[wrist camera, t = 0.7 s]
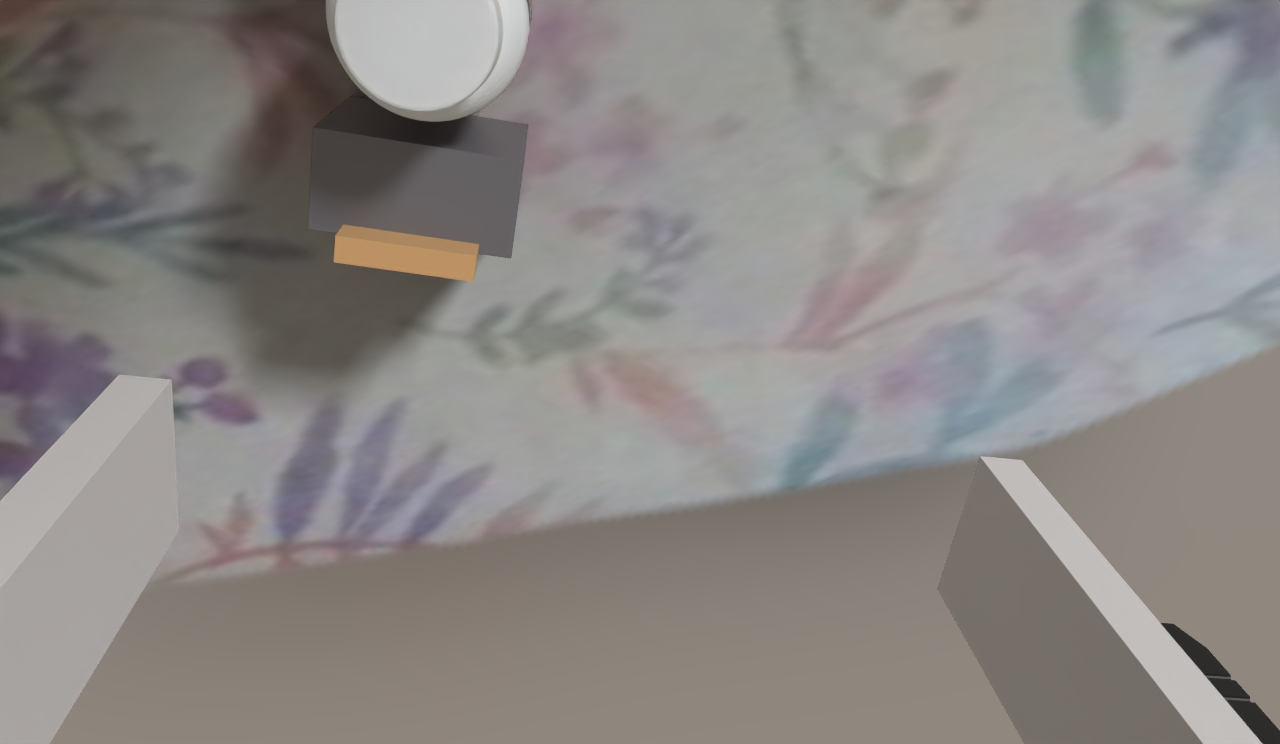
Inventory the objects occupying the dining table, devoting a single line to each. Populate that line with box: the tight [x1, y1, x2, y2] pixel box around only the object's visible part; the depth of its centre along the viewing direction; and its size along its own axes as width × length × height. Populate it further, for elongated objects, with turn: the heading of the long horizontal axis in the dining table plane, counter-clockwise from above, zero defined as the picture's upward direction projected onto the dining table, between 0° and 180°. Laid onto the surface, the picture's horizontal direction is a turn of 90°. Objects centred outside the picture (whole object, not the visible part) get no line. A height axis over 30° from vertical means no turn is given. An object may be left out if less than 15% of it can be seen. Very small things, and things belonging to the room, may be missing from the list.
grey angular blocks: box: [308, 96, 528, 282], centre depth 30 cm, size 14×6×7 cm, turn 170°
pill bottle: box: [326, 0, 532, 122], centre depth 29 cm, size 5×5×10 cm
